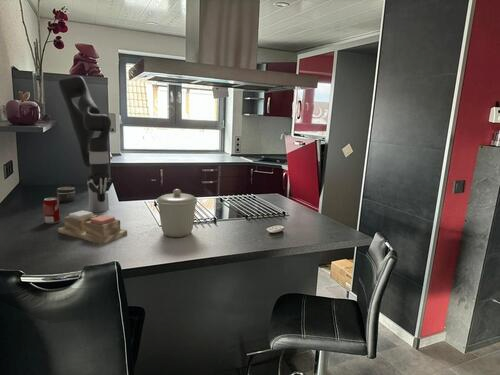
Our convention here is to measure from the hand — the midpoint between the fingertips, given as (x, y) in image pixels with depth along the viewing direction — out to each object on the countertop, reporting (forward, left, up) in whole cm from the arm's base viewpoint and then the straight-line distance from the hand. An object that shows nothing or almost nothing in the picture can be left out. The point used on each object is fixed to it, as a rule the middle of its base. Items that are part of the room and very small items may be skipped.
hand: (101, 201), depth 152 cm
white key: (0, -14, -10) cm, 17 cm away
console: (0, -7, -16) cm, 17 cm away
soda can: (-1, -37, -16) cm, 40 cm away
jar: (-33, -71, -16) cm, 80 cm away
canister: (-20, +25, -16) cm, 36 cm away
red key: (0, 0, -10) cm, 10 cm away
